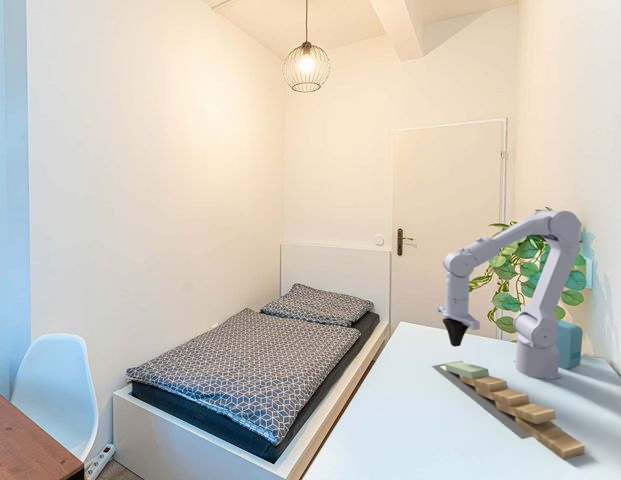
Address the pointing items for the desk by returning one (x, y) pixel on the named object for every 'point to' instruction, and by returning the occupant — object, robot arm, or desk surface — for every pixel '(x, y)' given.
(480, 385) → the domino
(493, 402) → the board
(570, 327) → the light blue rounded block
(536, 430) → the domino
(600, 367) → the desk surface
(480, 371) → the green domino
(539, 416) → the domino
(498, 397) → the domino
